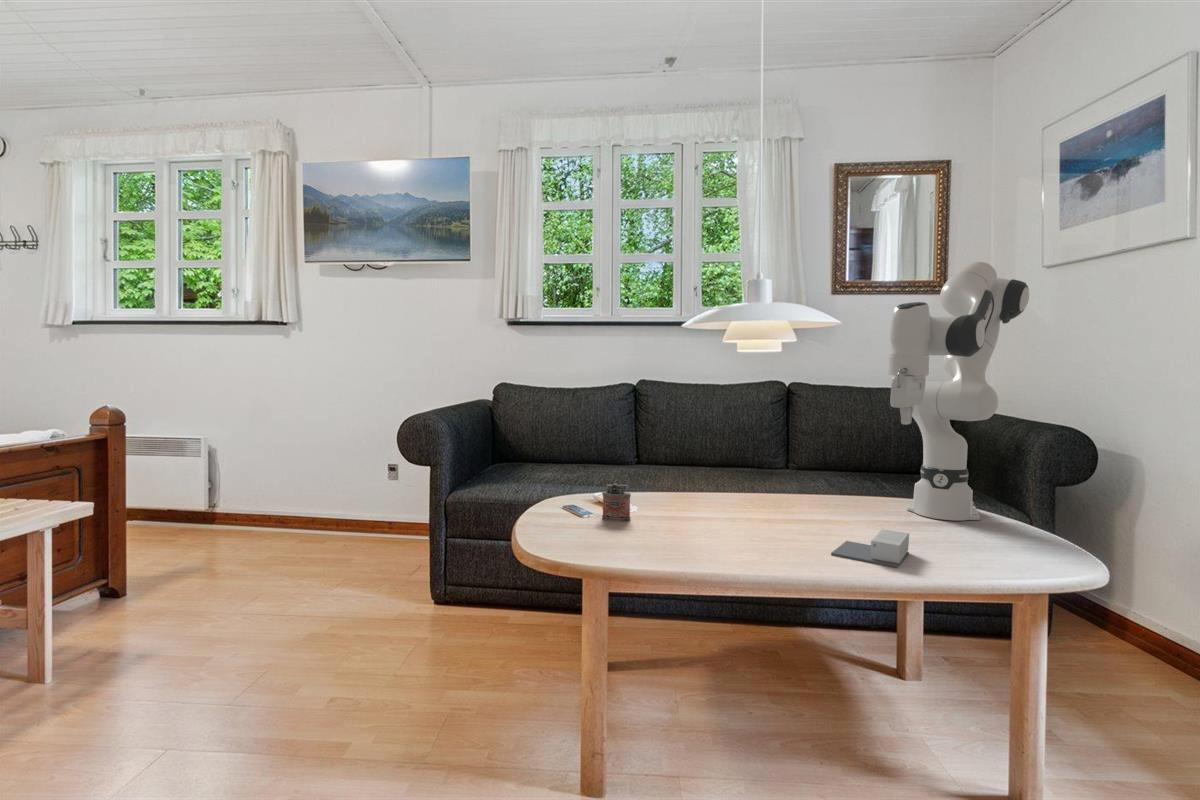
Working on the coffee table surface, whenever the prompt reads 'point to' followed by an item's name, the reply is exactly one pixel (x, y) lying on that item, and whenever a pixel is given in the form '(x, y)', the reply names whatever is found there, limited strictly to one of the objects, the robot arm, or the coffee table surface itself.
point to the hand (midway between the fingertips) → (906, 424)
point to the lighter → (616, 503)
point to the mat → (861, 553)
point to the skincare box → (889, 546)
